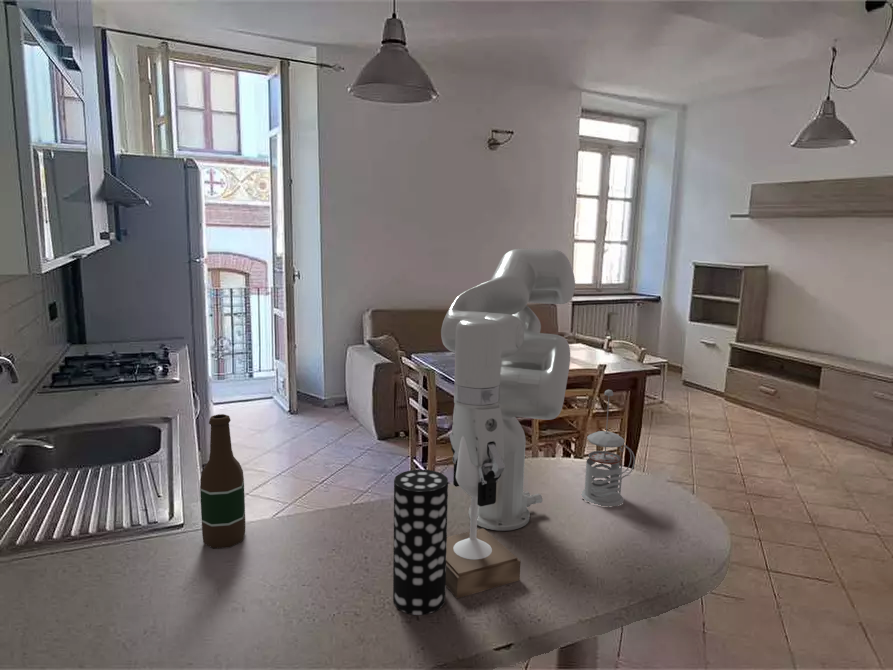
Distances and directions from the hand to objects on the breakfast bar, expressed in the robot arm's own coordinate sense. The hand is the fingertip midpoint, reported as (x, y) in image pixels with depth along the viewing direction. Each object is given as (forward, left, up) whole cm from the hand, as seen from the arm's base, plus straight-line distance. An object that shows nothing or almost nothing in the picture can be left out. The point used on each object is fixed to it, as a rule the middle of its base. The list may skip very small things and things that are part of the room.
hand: (473, 493), depth 99 cm
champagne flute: (0, 0, -10) cm, 10 cm away
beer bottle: (+37, -29, -14) cm, 49 cm away
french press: (-42, -13, -14) cm, 46 cm away
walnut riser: (0, 0, -14) cm, 14 cm away
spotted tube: (+12, +4, -14) cm, 19 cm away
